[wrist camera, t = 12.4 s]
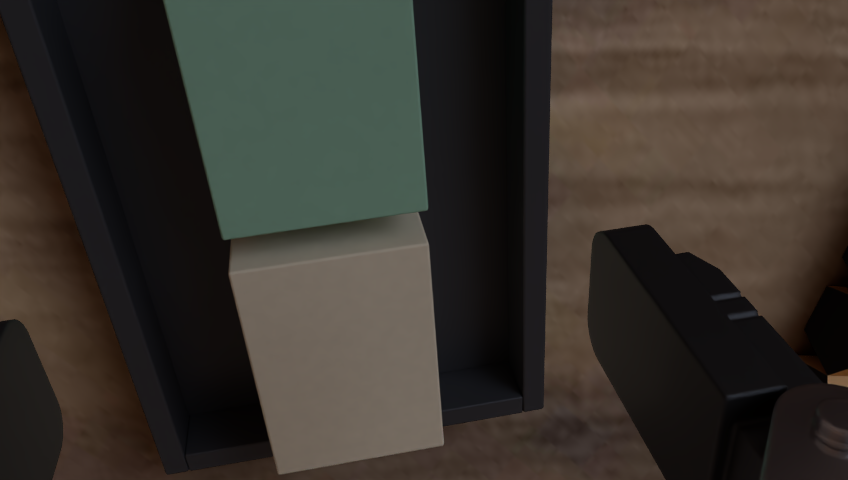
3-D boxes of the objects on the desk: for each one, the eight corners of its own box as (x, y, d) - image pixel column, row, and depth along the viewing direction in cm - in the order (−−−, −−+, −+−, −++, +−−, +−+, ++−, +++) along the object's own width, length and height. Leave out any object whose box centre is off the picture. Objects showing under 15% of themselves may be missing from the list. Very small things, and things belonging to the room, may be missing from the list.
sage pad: (228, 173, 23) (221, 241, 20) (162, -112, 19) (140, -86, 16) (406, 149, 24) (429, 211, 21) (381, -134, 20) (404, -112, 16)
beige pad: (276, 391, 28) (277, 476, 25) (233, 202, 24) (227, 273, 21) (424, 367, 29) (444, 446, 26) (407, 177, 25) (429, 243, 21)
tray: (173, 424, 29) (166, 475, 27) (-25, -162, 18) (-62, -153, 16) (525, 364, 30) (544, 409, 28) (527, -210, 20) (557, -207, 18)
